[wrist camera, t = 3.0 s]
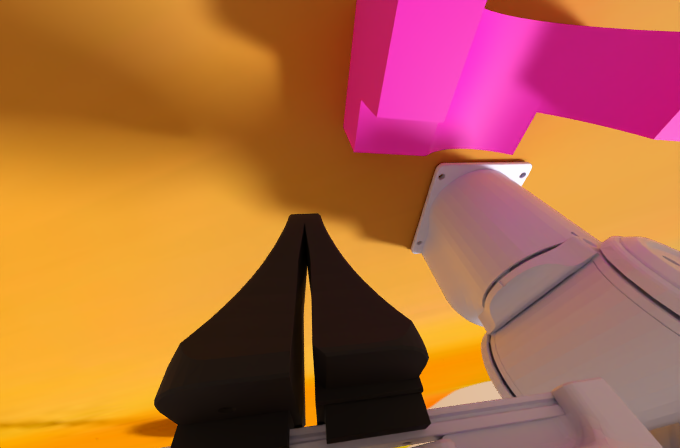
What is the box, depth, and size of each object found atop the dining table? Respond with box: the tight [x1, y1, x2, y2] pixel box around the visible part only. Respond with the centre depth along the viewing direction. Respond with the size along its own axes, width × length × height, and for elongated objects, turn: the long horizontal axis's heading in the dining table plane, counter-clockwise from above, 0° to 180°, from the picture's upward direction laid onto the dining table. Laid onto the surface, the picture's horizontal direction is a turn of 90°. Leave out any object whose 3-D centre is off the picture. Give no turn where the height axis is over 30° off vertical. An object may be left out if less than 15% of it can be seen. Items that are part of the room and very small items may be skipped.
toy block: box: [343, 0, 680, 156], centre depth 12 cm, size 15×6×8 cm, turn 84°
